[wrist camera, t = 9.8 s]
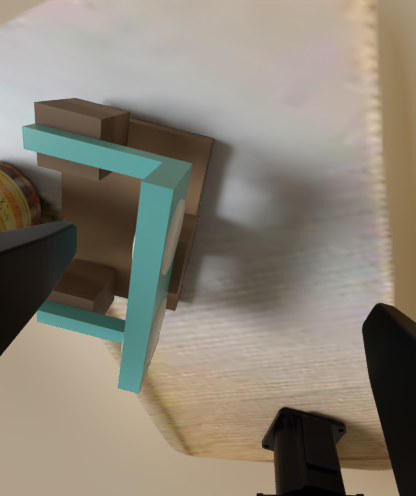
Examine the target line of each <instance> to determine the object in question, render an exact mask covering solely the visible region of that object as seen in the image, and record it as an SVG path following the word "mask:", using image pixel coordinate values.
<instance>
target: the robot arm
mask: <svg viewBox="0 0 416 496" xmlns="http://www.w3.org/2000/svg"><path fill="white" fill-rule="evenodd" d="M76 251H77V227H76V225H75V224H73V223H70V222H66V221H56V222H51V223H46V224H41V225H35V226H30V227H25V228H19V229H14V230H9V231H4V232H0V356H1V355H2V353H3V352H4V351H5V350H6V349H7V347H8V346H9V345H10V344H11V342H12V341H13V340H14V339H15V338H16V336H17V335H18V334H19V333H20V331H21V330H22V329H23V328H24V326H25V325H26V324H27V323H28V322H29V320H30V319H31V318H32V317H33V315H34V314H35V313H36V312H37V311H38V309H39V308H40V307H41V306H42V304H43V303H44V302H45V301H46V299H47V298H48V297H49V295H50V294H51V293H52V291H53V290H54V288H55V287H56V285H57V283H58V282H59V280H60V279H61V277H62V275H63V274H64V272H65V271H66V269H67V268H68V266H69V264H70V263H71V261H72V260H73V258H74V256H75V254H76ZM362 334H363V341H364V348H365V354H366V361H367V368H368V374H369V379H370V384H371V388H372V392H373V396H374V399H375V403H376V407H377V411H378V415H379V419H380V422H381V426H382V430H383V434H384V438H385V442H386V445H387V449H388V453H389V457H390V461H391V465H392V468H393V472H394V476H395V480H396V484H397V488H398V491H399V495H400V496H416V323H415V322H414V321H413V320H411V319H410V318H409V317H407V316H406V315H405V314H403V313H402V312H401V311H399V310H398V309H396V308H395V307H394V306H391V305H387V304H383V303H378V304H376V305H375V306H374V307H373V309H372V311H371V312H370V314H369V315H368V317H367V318H366V320H365V322H364V323H363V327H362ZM345 432H346V427H345V425H344V424H343V423H339V422H335V421H331V420H328V419H324V418H320V417H316V416H312V415H308V414H305V413H301V412H297V411H293V410H289V409H285V408H283V409H280V410H279V412H278V413H277V415H276V417H275V419H274V421H273V422H272V424H271V426H270V428H269V430H268V431H267V433H266V435H265V437H264V439H263V440H262V447H263V448H264V449H267V450H271V451H274V465H275V466H274V467H275V484H276V495H263V493H257V496H364V494H356V495H346V492H345V488H344V484H343V479H342V475H341V471H340V470H341V467H340V463H339V458H338V454H337V449H336V444H337V443H338V441H339V440H340V439H341V437H342V436H343V435H344V434H345Z"/></svg>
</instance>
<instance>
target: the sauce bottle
mask: <svg viewBox="0 0 416 496" xmlns="http://www.w3.org/2000/svg"><path fill="white" fill-rule="evenodd" d="M40 222H41V204H40V198H39V197H38V196H37V192H36V190H35V189H34V188H33V186H32V185H31V183H30V182H29V181H28V180H27V179H26V178H25V177H24V176H23V175H22V174H21V173H19V172H18V170H17V169H15V168H14V167H12V166H10V165H8V164H6V163H2V162H0V232H4V231H9V230H14V229H19V228H25V227H30V226H35V225H39V224H40Z"/></svg>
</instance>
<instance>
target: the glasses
mask: <svg viewBox="0 0 416 496" xmlns="http://www.w3.org/2000/svg"><path fill="white" fill-rule="evenodd" d="M22 131H23V144H24V149H27V150H31V151H35V152H39V153H42V154H46V155H50V156H54V157H58V158H62V159H66V160H70V161H74V162H78V163H82V164H85V165H89V166H93V167H97V168H101V169H105V170H109V171H113V172H117V173H121V174H125V175H128V176H132V177H136V178H140V179H144V180H142V181H141V190H140V199H139V207H138V216H137V225H136V233H135V237H134V243H133V252H132V269H131V278H130V286H129V295H128V304H127V313H126V321H125V320H121V319H118V318H114V317H110V316H106V315H102V314H98V313H94V312H91V311H87V310H83V309H79V308H75V307H71V306H67V305H64V304H60V303H56V302H52V301H48V300H46V301H45V302H44V303H43V304H42V306H41V307H40V308H39V309H38V311H37V321H38V322H41V323H45V324H49V325H52V326H56V327H60V328H64V329H68V330H72V331H76V332H79V333H83V334H87V335H91V336H95V337H99V338H102V339H106V340H110V341H114V342H118V343H122V350H121V353H122V357H121V365H120V374H119V383H118V388H120V389H123V390H127V391H131V392H135V393H139V392H140V389H141V387H142V384H143V381H144V378H145V376H146V373H147V370H148V367H149V365H150V362H151V359H152V356H153V354H154V351H155V348H156V345H157V343H158V340H159V334H160V330H161V326H162V323H163V319H164V314H165V310H166V304H167V293H168V288H169V283H170V278H171V272H172V267H173V262H174V257H175V252H176V248H177V244H178V240H179V236H180V232H181V228H182V223H183V218H184V211H185V200H186V195H187V190H188V184H189V179H190V174H191V169H192V163H188V162H184V161H180V160H176V159H173V158H169V157H165V156H161V155H157V154H153V153H149V152H145V151H141V150H137V149H133V148H129V147H126V146H122V145H118V144H114V143H110V142H106V141H102V140H98V139H94V138H90V137H86V136H82V135H79V134H75V133H71V132H67V131H63V130H59V129H55V128H51V127H47V126H43V125H39V124H31V125H26V126H22Z"/></svg>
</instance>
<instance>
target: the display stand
mask: <svg viewBox="0 0 416 496" xmlns="http://www.w3.org/2000/svg"><path fill="white" fill-rule="evenodd" d="M34 108H35V124H39V125H43V126H47V127H51V128H55V129H59V130H63V131H67V132H71V133H75V134H79V135H82V136H86V137H90V138H94V139H98V140H102V141H106V142H110V143H114V144H118V145H122V146H126V147H129V148H133V149H137V150H141V151H145V152H149V153H153V154H157V155H161V156H165V157H169V158H173V159H176V160H180V161H184V162H188V163H192V169H191V174H190V179H189V184H188V190H187V195H186V200H185V211H184V218H183V223H182V228H181V232H180V236H179V240H178V244H177V248H176V252H175V257H174V262H173V267H172V272H171V278H170V283H169V288H168V293H167V304H166V309H170V310H173V311H175V309H176V306H177V303H178V300H179V296H180V291H181V286H182V282H183V277H184V273H185V270H186V268H187V265H188V262H189V258H190V253H191V249H192V244H193V240H194V235H195V231H196V226H197V222H198V217H199V216H197V214H198V209H199V205H200V200H201V195H202V191H203V186H204V182H205V177H206V173H207V168H208V164H209V159H210V155H211V150H212V145H213V141H214V139H213V138H209V137H205V136H201V135H197V134H193V133H190V132H186V131H182V130H178V129H174V128H170V127H166V126H162V125H158V124H154V123H150V122H146V121H143V120H139V119H135V118H131V117H130V112H128V111H124V110H120V109H117V108H113V107H109V106H105V105H101V104H97V103H93V102H89V101H85V100H81V99H77V98H71V99H61V100H51V101H41V102H34ZM37 161H38V166H41V167H45V168H49V169H53V170H57V171H60V172H62V220H63V221H66V222H70V223H73V224H75V225H76V227H77V251H76V254H75V256H74V258H73V260H72V261H71V263H70V264H69V266H68V268H67V269H66V271H65V272H64V274H63V275H62V277H61V279H60V280H59V282H58V283H57V285H56V287H55V288H54V290H53V291H52V293H51V294H50V295H49V297H48V298H47V299H46V300H48V301H52V302H56V303H60V304H64V305H67V306H71V307H75V308H79V309H83V310H87V311H91V312H94V313H98V314H102V315H105V313H106V312H107V310H108V309H109V307H110V305H111V304H112V302H113V301H114V295H116V296H119V297H123V298H127V299H128V295H129V286H130V278H131V269H132V252H133V243H134V237H135V233H136V225H137V216H138V207H139V199H140V190H141V181H142V180H144V179H140V178H136V177H132V176H128V175H125V174H121V173H117V172H113V171H109V170H105V169H101V168H97V167H93V166H89V165H85V164H82V163H78V162H74V161H70V160H66V159H62V158H58V157H54V156H50V155H46V154H42V153H39V152H37Z"/></svg>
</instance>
